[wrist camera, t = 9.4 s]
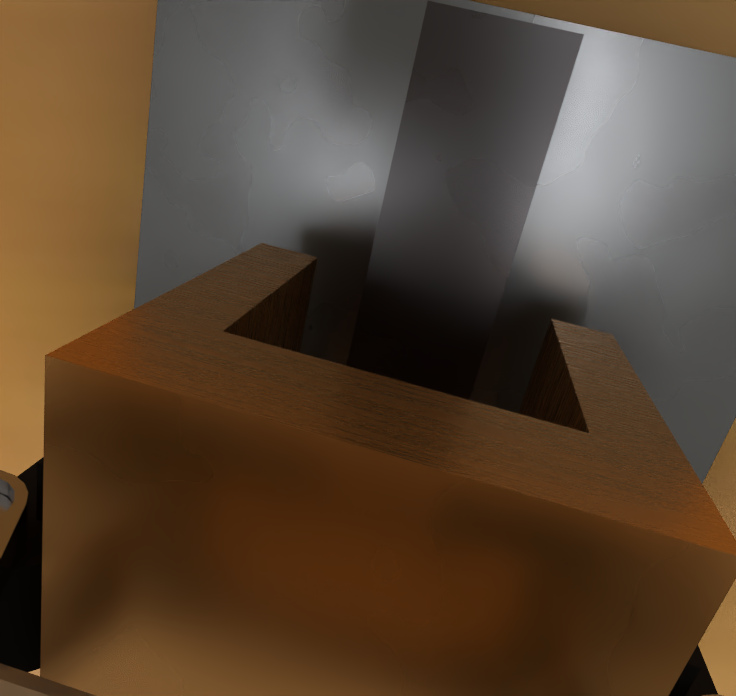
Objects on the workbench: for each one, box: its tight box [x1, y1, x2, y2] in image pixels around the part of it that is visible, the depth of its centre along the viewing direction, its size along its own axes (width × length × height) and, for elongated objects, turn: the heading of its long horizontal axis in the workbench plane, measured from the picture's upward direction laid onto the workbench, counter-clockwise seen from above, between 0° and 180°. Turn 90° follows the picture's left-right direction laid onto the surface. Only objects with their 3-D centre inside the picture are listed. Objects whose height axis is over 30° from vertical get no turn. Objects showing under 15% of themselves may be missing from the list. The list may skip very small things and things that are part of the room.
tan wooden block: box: [40, 243, 736, 696], centre depth 9 cm, size 7×6×6 cm
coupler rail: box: [134, 0, 736, 483], centre depth 12 cm, size 16×12×4 cm
